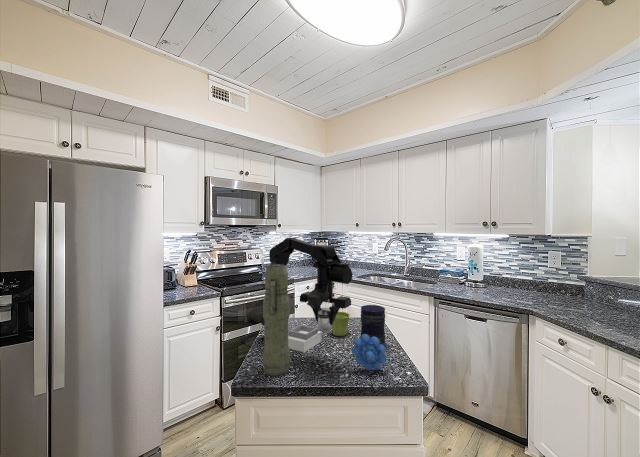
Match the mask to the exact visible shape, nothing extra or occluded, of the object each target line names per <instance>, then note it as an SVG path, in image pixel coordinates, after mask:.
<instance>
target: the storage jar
mask: <svg viewBox="0 0 640 457" xmlns="http://www.w3.org/2000/svg"><path fill="white" fill-rule="evenodd" d="M360 321H361V323H360V324H361V329H360V339H361V337H362V335H363V334H367V335H368V336H369V337H370V339H371V337H373V336H374V337H377V338H378V339H379V342H380V343H379V344H382V345H384V346H386V344H385V342H386V331H385V323H386V308H385V307H384V306H381V305H378V304H377V305H376V304H367V305H362V306H361V307H360ZM361 340H362V339H361Z"/></svg>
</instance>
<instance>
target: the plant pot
mask: <svg viewBox="0 0 640 457" xmlns="http://www.w3.org/2000/svg"><path fill="white" fill-rule="evenodd" d="M350 317H351V314H350V313H349V312H346V311H338V313H337V315H336V317H335V320H334V322H333V324H332V329H331V330H332V334H333V335H334V336H337V337H340V336H344V337H345V336H346V335H347V332H348V327H349V326H348V325H349V320H350Z"/></svg>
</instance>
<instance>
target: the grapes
mask: <svg viewBox="0 0 640 457" xmlns="http://www.w3.org/2000/svg"><path fill="white" fill-rule="evenodd" d="M361 339H362V340H361ZM379 343H380V342H379V339H378V338H377V337H374V336H373V337H371V339H370V337H369V336H368V335H367V334H363V335H362V337H361V336H360V337H356V338H354V340H353V344H354V346H352V348H351V354H353V355H354V356H355V362H356V363H357V364H358V365H359V366H362V365H363V367H364V369H365V370H366V371H372V370H373V368H374V370H377V371H378V370H379V371H380V370H381V369H382V364H385V363H387V361H388V359H387V356H386V355H385V354H386V350H387V349H386V347H385V346H386V345H385V346H384V345H382V344H379Z"/></svg>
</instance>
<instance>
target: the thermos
mask: <svg viewBox="0 0 640 457" xmlns="http://www.w3.org/2000/svg"><path fill="white" fill-rule="evenodd" d="M288 288H289V273H288V270H287V265H286V266H285V265H283V264H271V263H270V264H269V265H267V267H266V269H265V272H264V289H265V292H264V298H263V301H262V317H263V318H264V320H265V326H264V336H265V339H264V349H263V352H262V365H263V367H262V369H263V370H262V371H263V373H264V374H265V375H268V376H271V377H273V376H275V377H276V376H282V375H285V374H286V373H288V372H289V371H290V362H291V349H289V346H288V336H289V318H290V314H291V311H290V310H291V309H290V308H291V307H290V306H291V305H290V303H291V302H290V300H291V299H290V297H289V292H288Z"/></svg>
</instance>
